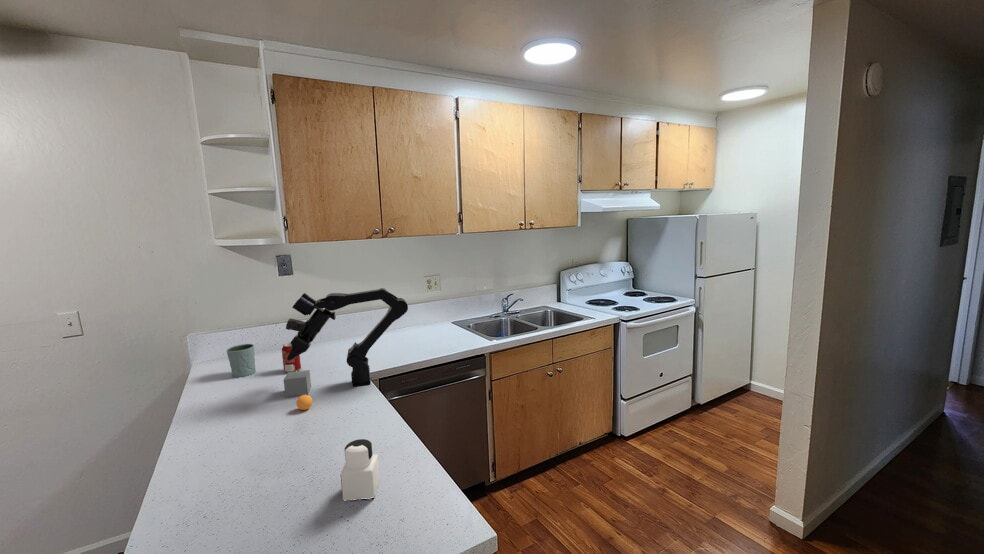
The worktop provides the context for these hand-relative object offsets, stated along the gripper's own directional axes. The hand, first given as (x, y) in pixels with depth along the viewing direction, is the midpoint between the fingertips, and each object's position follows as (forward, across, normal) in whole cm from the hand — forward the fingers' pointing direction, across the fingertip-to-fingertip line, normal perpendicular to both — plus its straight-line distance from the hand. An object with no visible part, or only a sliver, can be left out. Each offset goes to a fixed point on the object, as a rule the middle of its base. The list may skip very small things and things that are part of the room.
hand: (290, 356), depth 157 cm
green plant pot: (+27, -29, -10) cm, 41 cm away
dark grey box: (+10, 0, +10) cm, 14 cm away
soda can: (+14, -26, +5) cm, 30 cm away
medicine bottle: (-6, +69, +31) cm, 76 cm away
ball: (+5, +17, +13) cm, 22 cm away
